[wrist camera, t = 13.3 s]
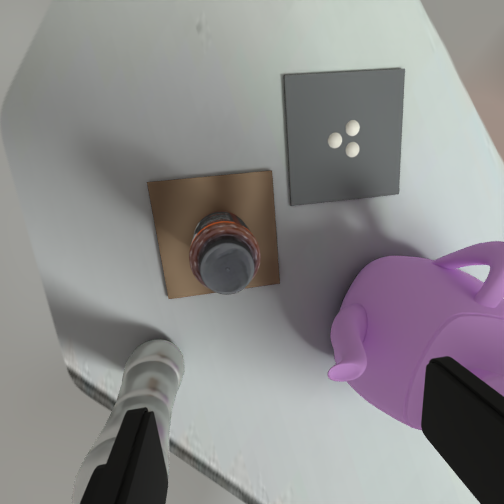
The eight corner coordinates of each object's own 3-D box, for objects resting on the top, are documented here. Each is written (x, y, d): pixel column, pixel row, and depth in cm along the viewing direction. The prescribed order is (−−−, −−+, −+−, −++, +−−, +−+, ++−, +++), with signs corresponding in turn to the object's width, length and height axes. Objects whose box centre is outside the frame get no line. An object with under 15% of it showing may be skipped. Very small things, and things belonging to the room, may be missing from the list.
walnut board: (270, 170, 30) (272, 170, 30) (278, 281, 34) (279, 283, 33) (147, 182, 29) (146, 182, 28) (169, 297, 32) (168, 299, 32)
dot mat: (403, 69, 30) (404, 68, 29) (397, 193, 33) (398, 194, 33) (283, 76, 28) (284, 75, 28) (290, 205, 32) (291, 205, 31)
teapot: (473, 236, 36) (646, 274, 22) (415, 375, 41) (527, 482, 26) (310, 196, 32) (393, 211, 17) (266, 357, 36) (303, 474, 22)
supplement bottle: (182, 235, 30) (166, 266, 20) (223, 198, 30) (230, 210, 19) (219, 273, 32) (224, 322, 21) (258, 239, 32) (283, 270, 21)
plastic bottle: (196, 345, 35) (179, 554, 15) (168, 387, 35) (120, 633, 16) (148, 323, 33) (62, 525, 14) (120, 367, 34) (3, 614, 15)
